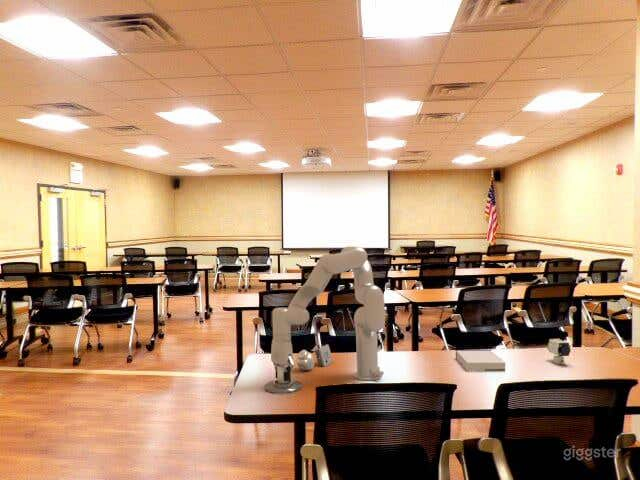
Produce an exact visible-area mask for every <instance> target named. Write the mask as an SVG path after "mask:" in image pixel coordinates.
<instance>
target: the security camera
mask: <svg viewBox="0 0 640 480" xmlns="http://www.w3.org/2000/svg"><path fill="white" fill-rule="evenodd" d="M547 350H548V352H549V353H551V354H554V355H553V363H554V364H557V365H565V357H570V353H571V347H570V343H569V342H567V341H565V340H562V339H560V338H559V337H558V338H549V339H548V342H547Z"/></svg>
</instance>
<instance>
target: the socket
mask: <svg viewBox="0 0 640 480" xmlns="http://www.w3.org/2000/svg"><path fill="white" fill-rule="evenodd" d="M263 387H264V388H265V389H264V390H266V391H265V392H267V391H269V392H272V393H271V394H274V393H287V394H292V393H291V392H293V393H295V392H298V391H300V390H301V389H302V388H303V385H302V382H301V381H299V380H296V379H291V380H289V383H286V384H279V383H278V382H277V379H273V380H271V381H268V382H267V383H265V384H264V386H263ZM269 392H268V393H269Z"/></svg>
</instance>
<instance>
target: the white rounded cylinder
mask: <svg viewBox="0 0 640 480" xmlns="http://www.w3.org/2000/svg"><path fill="white" fill-rule="evenodd" d="M286 367H288V365H287V366H286ZM284 372H285V370H284V366H282V365H277V378H276V380H277V382H278V383H279V384H286V383H289V381H284Z"/></svg>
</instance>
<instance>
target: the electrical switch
mask: <svg viewBox="0 0 640 480" xmlns="http://www.w3.org/2000/svg"><path fill="white" fill-rule="evenodd" d="M329 345H330V344H324V345H323V346H321V347H319V348H318V349H316V350H314V354H315V358H316V361H317V364H318V367H321V366H322V367H323V368H325V367H328V366H329V365H331V364H332V363H333V362H334V359H333V356H332V353H331V349H330V346H329Z"/></svg>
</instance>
